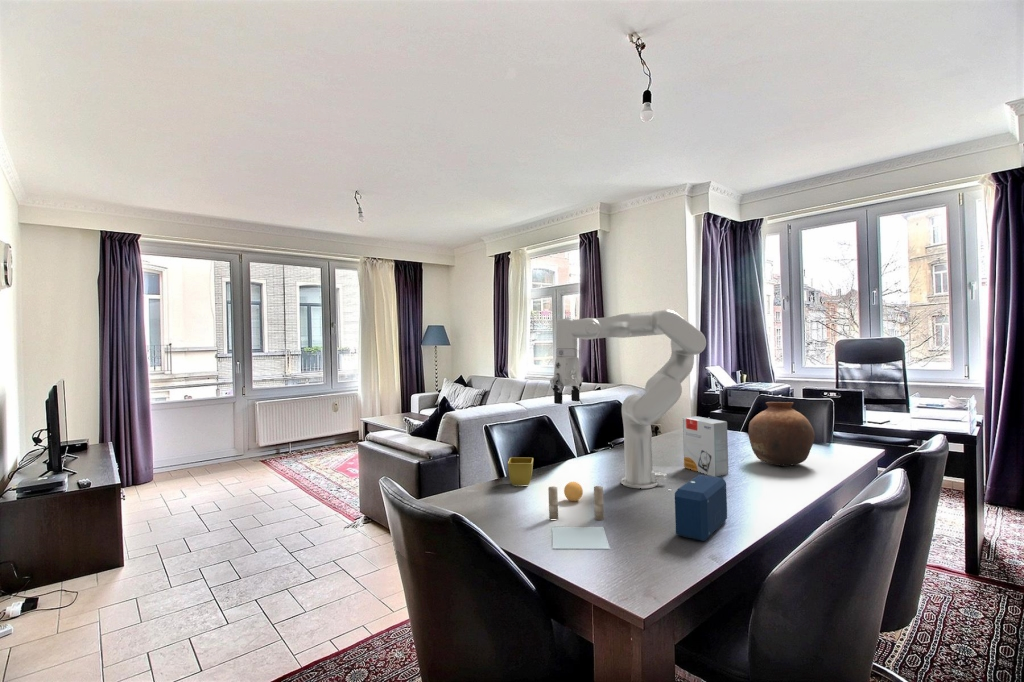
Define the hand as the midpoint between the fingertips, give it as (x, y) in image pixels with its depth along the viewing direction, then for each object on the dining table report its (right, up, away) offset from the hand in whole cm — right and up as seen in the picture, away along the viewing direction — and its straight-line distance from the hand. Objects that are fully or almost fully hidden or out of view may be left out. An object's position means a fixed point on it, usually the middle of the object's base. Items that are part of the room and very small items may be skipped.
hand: (567, 402), depth 173 cm
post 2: (+6, -30, -31) cm, 44 cm away
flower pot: (-16, -31, +4) cm, 35 cm away
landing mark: (-2, -30, -45) cm, 54 cm away
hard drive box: (+55, -29, +15) cm, 64 cm away
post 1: (-7, -30, -30) cm, 43 cm away
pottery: (+87, -28, +22) cm, 94 cm away
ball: (0, -27, -15) cm, 31 cm away
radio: (+32, -29, -41) cm, 59 cm away
